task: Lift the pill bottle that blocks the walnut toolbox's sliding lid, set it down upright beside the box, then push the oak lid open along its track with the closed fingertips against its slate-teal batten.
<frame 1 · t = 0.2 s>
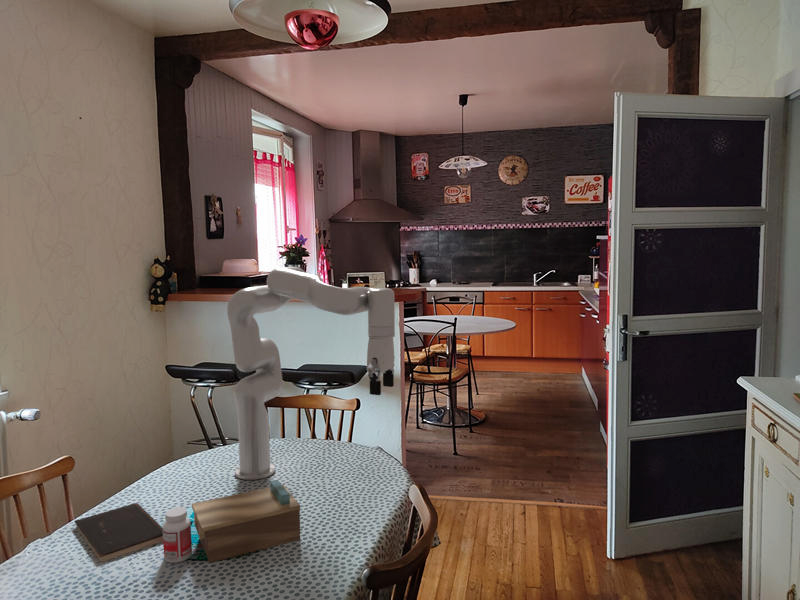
hand: (382, 390, 166), 31 cm above the table, tool pointing down, fingers open, 9 cm apart
toolbox: (249, 538, 144), on the table
pill bottle: (178, 557, 136), on the table
toolbox lid: (245, 507, 143), point 8 cm above the table, slide at 0.0 cm
hardcover book: (121, 535, 147), on the table
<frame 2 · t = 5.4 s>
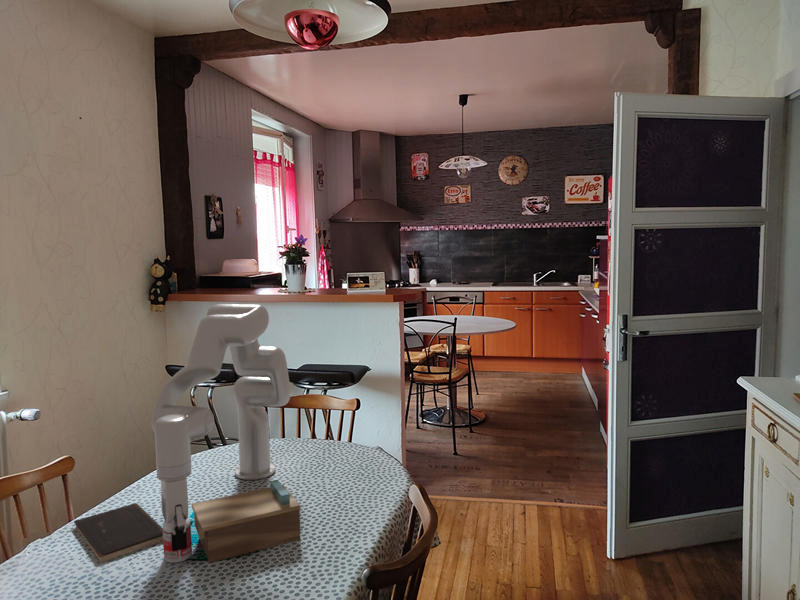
hand: (177, 541, 135), 4 cm above the table, tool pointing down, fingers closed on pill bottle, 6 cm apart
pill bottle: (178, 557, 136), on the table, touching gripper
everything else where it was.
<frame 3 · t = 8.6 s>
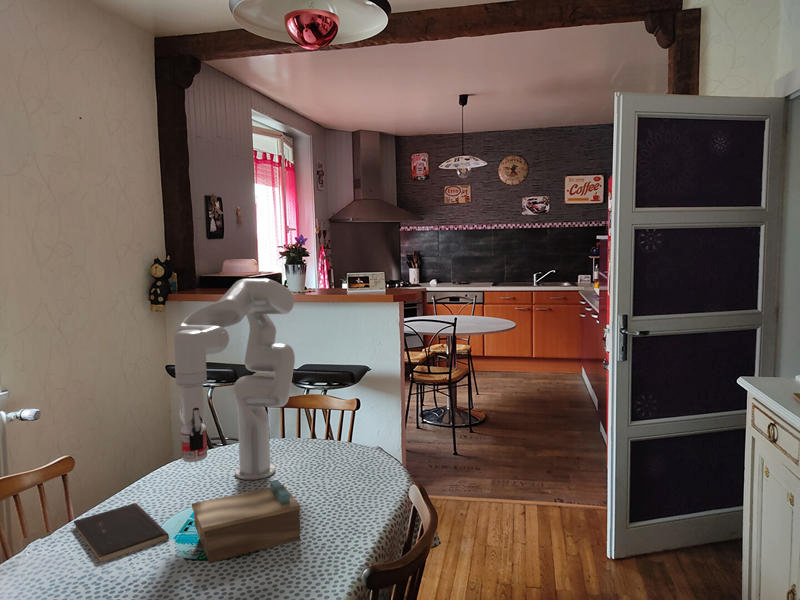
hand: (194, 444, 150), 21 cm above the table, tool pointing down, fingers closed on pill bottle, 6 cm apart
pill bottle: (194, 459, 151), point 17 cm above the table, touching gripper
everything else where it was.
when the fingers open (5 cm above the table, at t = 12.1 s): pill bottle drops 1 cm, on the table.
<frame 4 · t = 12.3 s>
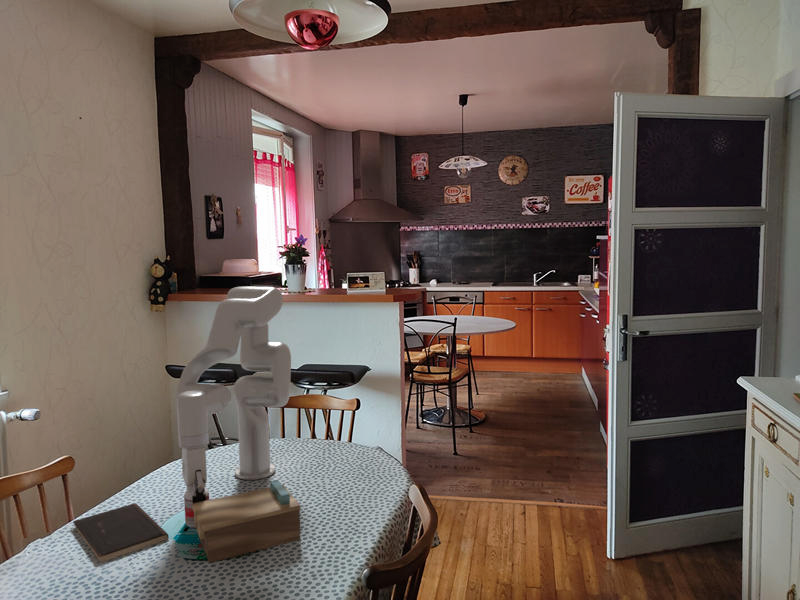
hand: (196, 502, 152), 6 cm above the table, tool pointing down, fingers open, 8 cm apart
pill bottle: (197, 523, 152), on the table
everything else where it was.
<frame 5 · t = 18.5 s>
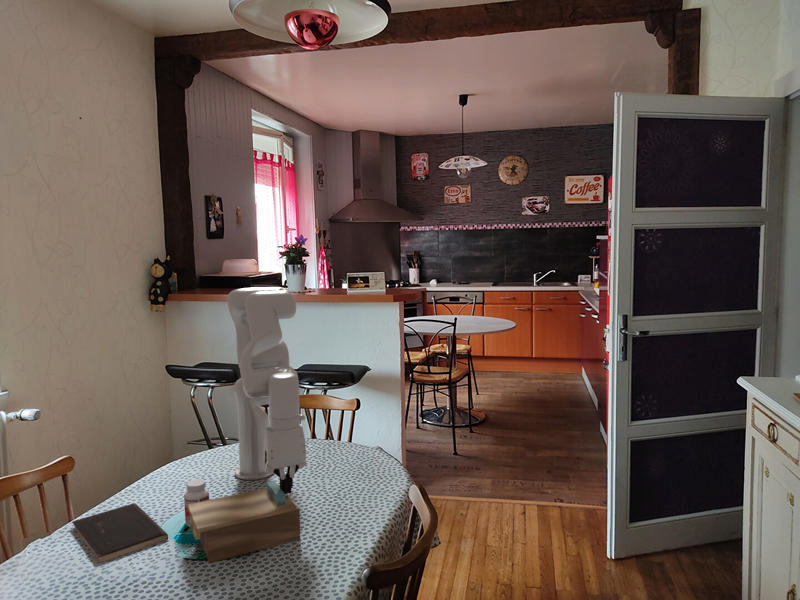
hand: (286, 491, 147), 10 cm above the table, tool pointing down, fingers closed
toolbox lid: (241, 508, 142), point 8 cm above the table, slide at 1.0 cm, touching gripper
everything else where it was.
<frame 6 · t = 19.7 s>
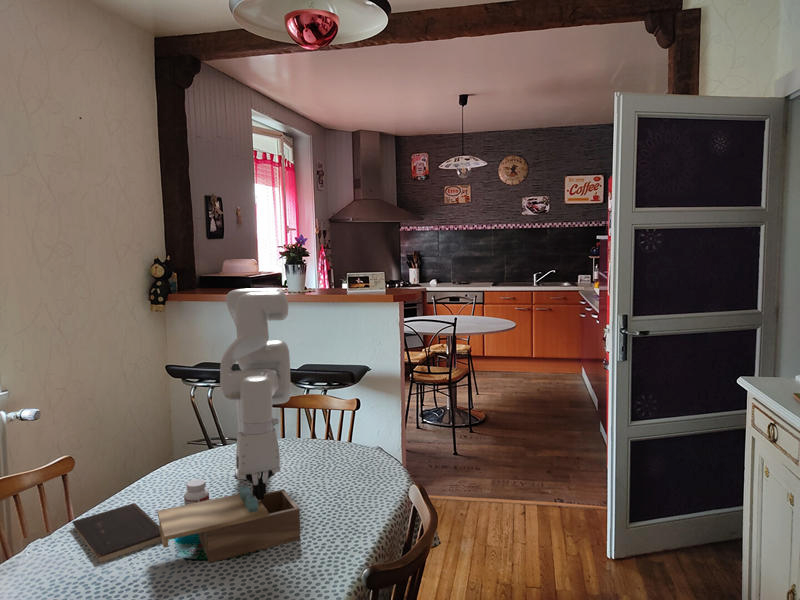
hand: (259, 497, 144), 10 cm above the table, tool pointing down, fingers closed
toolbox lid: (212, 514, 139), point 8 cm above the table, slide at 7.9 cm, touching gripper
everything else where it was.
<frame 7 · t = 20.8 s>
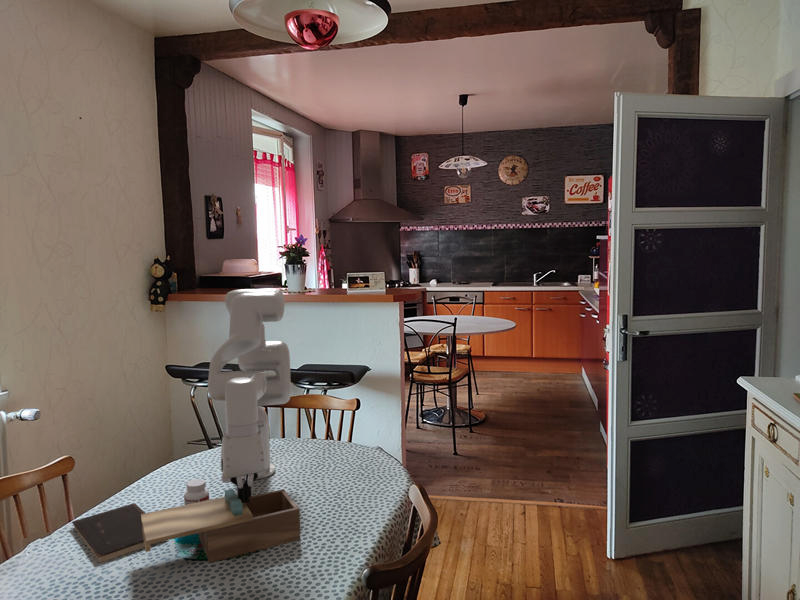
hand: (244, 500, 142), 10 cm above the table, tool pointing down, fingers closed
toolbox lid: (196, 518, 137), point 8 cm above the table, slide at 11.6 cm, touching gripper
everything else where it was.
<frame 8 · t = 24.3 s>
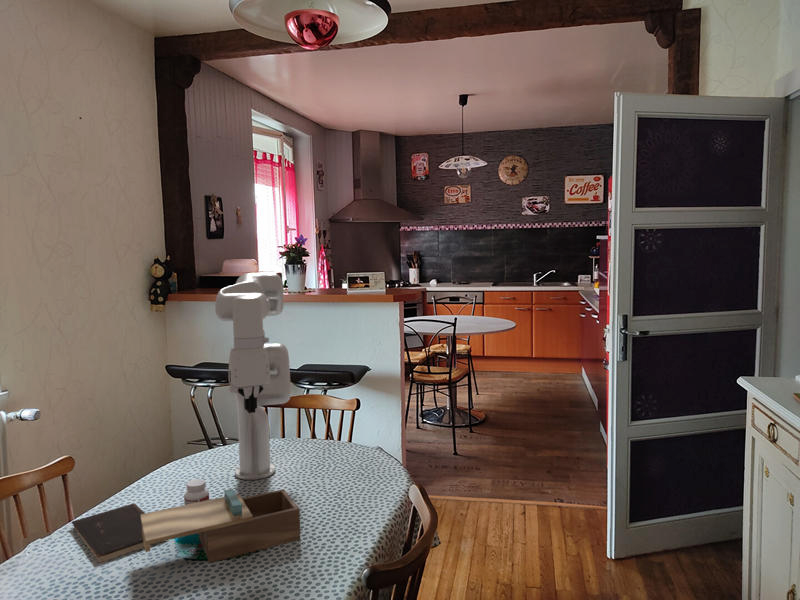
hand: (250, 411, 152), 29 cm above the table, tool pointing down, fingers closed
toolbox lid: (196, 518, 137), point 8 cm above the table, slide at 11.7 cm
everything else where it was.
at the end: toolbox lid slide at 11.7 cm; pill bottle inside the target area (0.1 cm from its centre), on the table; pill bottle tilted 0° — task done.
